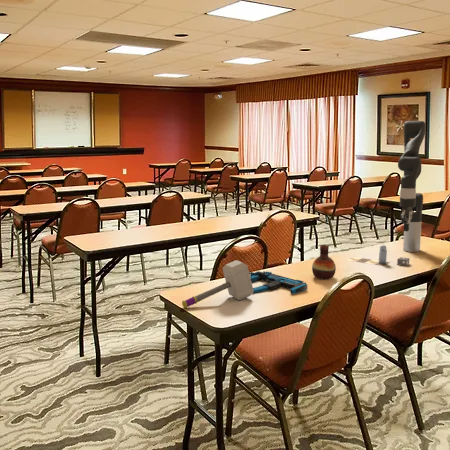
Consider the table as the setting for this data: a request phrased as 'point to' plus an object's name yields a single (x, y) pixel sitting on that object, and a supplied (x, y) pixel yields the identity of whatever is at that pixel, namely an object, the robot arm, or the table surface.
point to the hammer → (229, 284)
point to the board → (363, 260)
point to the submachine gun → (277, 282)
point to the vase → (323, 265)
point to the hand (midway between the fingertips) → (406, 230)
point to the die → (403, 261)
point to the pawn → (382, 254)
